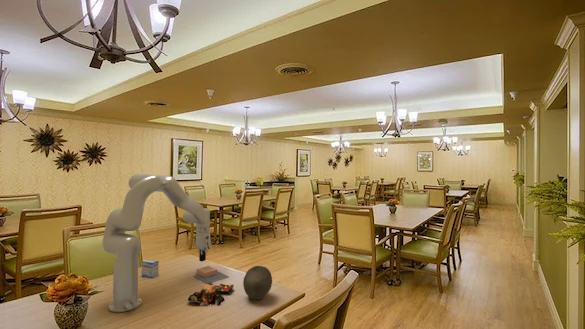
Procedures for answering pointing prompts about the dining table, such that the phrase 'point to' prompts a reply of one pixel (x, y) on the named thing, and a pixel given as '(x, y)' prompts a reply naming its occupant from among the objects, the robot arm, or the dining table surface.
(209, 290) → the food
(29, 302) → the dining table surface
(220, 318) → the dining table surface
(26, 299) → the dining table surface
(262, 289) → the dark round vase
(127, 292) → the robot arm
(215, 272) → the tile
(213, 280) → the mat
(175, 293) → the dining table surface
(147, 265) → the medicine box
